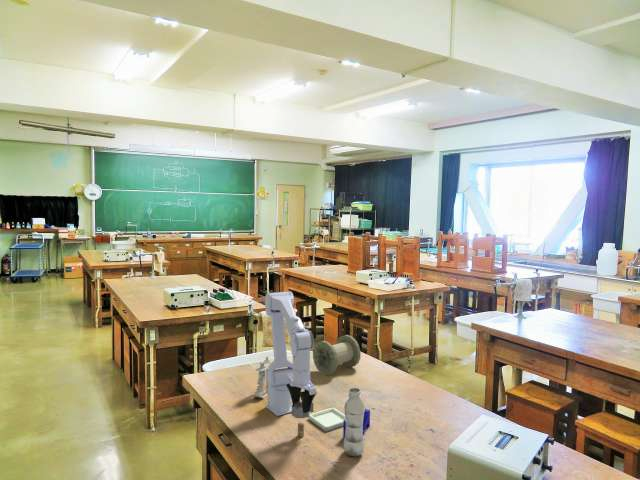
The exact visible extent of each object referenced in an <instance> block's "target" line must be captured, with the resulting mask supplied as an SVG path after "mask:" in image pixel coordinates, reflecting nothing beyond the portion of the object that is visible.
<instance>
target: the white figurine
mask: <svg viewBox="0 0 640 480" xmlns="http://www.w3.org/2000/svg"><path fill="white" fill-rule="evenodd" d="M268 363H270V359H269V356H265V360H262V361H260V362H259V366H257V367H255V371H257V372H258V380H257V382H256V383H257V386H256V391H255V392H254V393H253V394H252V395H251V396H252V397H253V398H257V397H258V399H265V398H266V397H268V395H267V394H268V388H269V385H268V381H267V374H268V366H269V365H266V366H265V364H268ZM264 385H265V389H266V390H265V392H264ZM262 392H263V393H262ZM265 396H266V397H265Z"/></svg>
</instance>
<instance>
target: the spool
mask: <svg viewBox="0 0 640 480" xmlns="http://www.w3.org/2000/svg"><path fill="white" fill-rule="evenodd" d="M312 349H313V350H312V359H313V363H314V366H315V367H316V368H315V369H317V371H319V372H320V374H322V373H323V374H322V375H324V374H325V376H330V375H333V374H334V373H335V372H336V371H337V368H338V365H342V366H344V365H345V366H344V367H346V366H347V367H346V368H353V367H356V366H357V365H358V364H359V362H360V360H361V349H360V345H359V343H358V341H357V340H356V338H354V337H353V336H352V335H349V334H345V335H341V336H340V337H338V339H337V340H336V343H335V344H332V343H330V342H329V341H326V340H322V341H317V342H316V344H314V345H313V348H312Z"/></svg>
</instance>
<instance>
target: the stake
mask: <svg viewBox="0 0 640 480" xmlns="http://www.w3.org/2000/svg"><path fill="white" fill-rule="evenodd" d="M304 432H305V424H304V422H298V423H297V437H299V438H303V437H304V436H305V433H304Z"/></svg>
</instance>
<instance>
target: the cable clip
mask: <svg viewBox="0 0 640 480" xmlns="http://www.w3.org/2000/svg"><path fill="white" fill-rule="evenodd" d="M342 427H343V431H342V432H343V433H342V438H345V430H346V419H345V420H343V426H342ZM369 427H371V410H370V409H367V408H365V411H364V418H363V436H365V431H366V430H367V429H368V428H369Z"/></svg>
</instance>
